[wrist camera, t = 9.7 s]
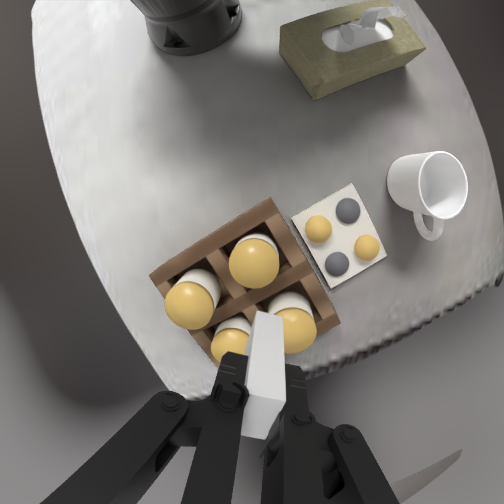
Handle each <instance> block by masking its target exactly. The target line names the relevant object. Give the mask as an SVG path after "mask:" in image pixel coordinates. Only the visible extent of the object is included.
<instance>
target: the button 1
mask: <svg viewBox="0 0 504 504" xmlns="http://www.w3.org/2000/svg"><path fill="white" fill-rule="evenodd" d="M220 296H221V286H220V283H219V281H218V279H217V278H216V277H215V276H214V275H213V274H212V273H210V272H209V271H207V270H204V269H193V270H190V271H188V272H186V273H185V274H184V275H183V276H182V277H181V279H180V280H179V281H178V282H177V283H176V284H175V285H174V286H173V287H172V289H171V290H170V291H169V292H168V293H167V295H166V298H165V310H166V312H167V315H168V316H169V318H170V319H171V320H172V321H173V322H174V323H175V324H176V325H178V326H180V327H182V328H184V329H189V330H196V329H200V328H202V327H204V326H205V325H207V324H208V322H209V321H210V319H211V317H212V315H213V312H214V310H215V308H216V306H217V303H218V301H219V299H220Z"/></svg>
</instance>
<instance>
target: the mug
mask: <svg viewBox="0 0 504 504" xmlns="http://www.w3.org/2000/svg"><path fill="white" fill-rule="evenodd" d="M387 187H388V191H389V194H390V196H391V198H392V199H393V200H394V202H395V203H396V204H397V205H399V206H400V207H402V208H404V209H407V210H410V211H413V215H414V221H415V224H416V227H417V229H418V231H419V233H420V234H421V236H422V237H423V238H425V239H426V240H429V241H435V240H437V239H438V238H439V237H440V236H441V234H442V231H443V228H444V220H446V219H450V218H453V217H454V216H456V215H457V214H458V213H459V212H460V211H461V210H462V208H463V206H464V204H465V202H466V198H467V193H468V183H467V177H466V174H465V171H464V169H463V167H462V165H461V163H460V162H459V161H458V160H457V159H456V158H455V157H454V156H453V155H451V154H449V153H447V152H443V151H437V152H429V153H421V154H414V155H407V156H403V157H400V158H398V159H397V160H396V161H394V162H393V164H392V165H391V167H390V169H389V171H388V175H387ZM422 214H424V215H428V216H431V217H433V219H434V226H433V230H432V231H429V230H428V229H427V228H426V227H425V225H424V222H423V217H422Z"/></svg>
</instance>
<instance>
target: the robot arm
mask: <svg viewBox="0 0 504 504" xmlns="http://www.w3.org/2000/svg"><path fill="white" fill-rule="evenodd" d="M130 1H131V2H132V3H133V4H134V5H135V6H136V7H137V8H138V9H139V10H140V11H141V12H142V13H143V14H144V15H145V20H146V26H147V31H148V34H149V37H150V39H151V40H152V41H153V42H154V43H155V45H156V46H157V47H158V48H160V49H161V50H162V51H164V52H166V53H169V54H173V55H180V56H186V55H195V54H199V53H203V52H206V51H209V50H211V49H213V48H215V47H217V46H219V45H221V44H222V43H224V42H225V41H226V40H227V39H229V38H230V37H231V36H232V35H233V34H234V32H235V31H236V30H237V28H238V26H239V24H240V22H241V17H242V11H241V7H240V3H239V0H130ZM268 434H269V436H268V437H269V438H268V443H267V444H266V446H265V448H264V450H263V451H262V453H261V455H260V458H262V457H263V456H264V466H263V478H262V492H261V504H399V502H398V500H397V498H396V496H395V494H394V492H393V491H392V489H391V487H390V485H389V483H388V481H387V480H386V478H385V476H384V474H383V472H382V470H381V468H380V467H379V465H378V463H377V461H376V459H375V458H374V456H373V454H372V452H371V450H370V448H369V446H368V445H367V443H366V441H365V439H364V437H363V436H362V434H361V432H360V431H359V430H358V429H357V428H355V427H354V426H351V425H348V424H342V425H339V426H337V427H336V428H335V429H332V428H329V427H326V426H323V425H321V424H319V423H318V422H316V420H315V417H314V416H313V414H312V413H311V412H309V408H308V399H307V390H306V383H305V374H304V372H303V371H302V369H301V368H300V366H295V365H290V364H285V358H284V336H283V317H281V316H277V315H273V314H269V313H265V312H261V311H256V314H255V318H254V321H253V324H252V328H251V331H250V334H249V337H248V341H247V344H246V347H245V352H244V355H242V354H238V353H234V352H230V351H228V352H226V353H225V354H224V355H223V356H222V359H221V362H220V366H219V369H218V373H217V376H216V380H215V383H214V386H213V388H212V392H211V395H210V396H209V397H208V398H206V399H204V400H201V401H186V400H185V398H184V397H183V396H181V395H180V394H179V393H176V392H173V391H162V392H158V393H157V394H155V395H154V396H153V397H152V398H151V399H150V400H149V401H148V402H147V403H146V404H145V405H144V406H143V407H142V408H141V409H140V410H139V411H138V412H137V413H136V414H135V415H134V416H133V417H132V418H131V419H130V420H129V421H128V422H127V423H126V424H125V425H124V426H123V427H122V428H121V429H120V430H119V431H118V432H117V433H116V434H115V435H114V436H113V437H112V438H111V439H110V440H109V441H108V442H107V443H105V445H103V446H102V447H101V448H100V449H99V450H98V451H97V452H96V453H95V454H94V455H93V456H92V457H91V458H90V459H89V460H88V461H86V463H84V464H83V465H82V466H81V467H80V468H79V469H78V470H77V471H76V472H75V473H74V474H73V475H71V476H70V477H69V478H68V479H67V480H66V481H65V482H64V483H63V484H62V485H61V486H60V487H58V488H57V489H56V490H55V491H54V492H53V493H52V494H50V496H48V497H47V498H46V499H45V500H44V501H43V502H41V503H40V504H137V502H138V501H139V500H140V499H141V497H142V496H143V495H144V494H145V493H146V491H147V490H148V489H149V487H150V486H151V485H152V484H153V482H154V481H155V480H156V479H157V477H158V476H159V475H160V473H161V472H162V471H163V469H164V468H165V467H166V466H167V464H168V463H169V461H170V460H171V459H172V458H173V456H174V455H175V454H176V452H177V451H178V449H179V448H180V447H181V446H193V447H195V446H196V451H195V454H194V458H193V461H192V465H191V469H190V473H189V476H188V479H187V483H186V487H185V491H184V494H183V498H182V501H181V504H231V499H232V492H233V485H234V479H235V471H236V465H237V458H238V450H239V443H240V436H241V435H243V436H248V437H254V438H259V439H266V437H267V435H268Z"/></svg>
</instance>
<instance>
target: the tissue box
mask: <svg viewBox="0 0 504 504" xmlns="http://www.w3.org/2000/svg"><path fill="white" fill-rule="evenodd" d="M405 16H407V15H406V14H404V13H403V12H402V11H401V10H400V8H399V7H397V6H393V5H392V4H391V3H390V1H389V0H371V1H365V2H360V3H355V4H351V5H347V6H342V7H338V8H335V9H331V10H327V11H324V12H320V13H317V14H314V15H310V16H307V17H304V18H301V19H298V20H296V21H293V22H290V23H287V24H285V25H282V26H281V27H280V44H279V53H280V54H281V55H282V56H283V58H284V59H285V60H286V62H287V63H288V65H289V66H290V67H291V69H292V70H293V71H294V73H295V74H296V76H297V77H298V78H299V80H300V81H301V83H302V84H303V86H304V87H305V89H306V90H307V92H308V93H309V95H310V96H311V98H312V99H313V100H314V101H316V100H318V99H320V98H322V97H325V96H327V95H329V94H331V93H334V92H336V91H338V90H341V89H343V88H346V87H348V86H350V85H353V84H355V83H358V82H360V81H363V80H366V79H368V78H371V77H373V76H376V75H379V74H382V73H385V72H387V71H390V70H393V69H396V68H399V67H402V66H405V65H406V64H407V63H409V62H410V61H411V60H412V59H414V58H415V57H416V56H418V55H419V54H420V53H421V52H423V51H424V50H425V49H426V47H425V46H424V44H423V43H422V41H421V40H420V38H419V37H418V36H417V34H416V33H415V32H414V30H413V29H412V28H411V26H410V25H409V24H408V23H407V21H406V20H405V19H404V18H403V17H405Z"/></svg>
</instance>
